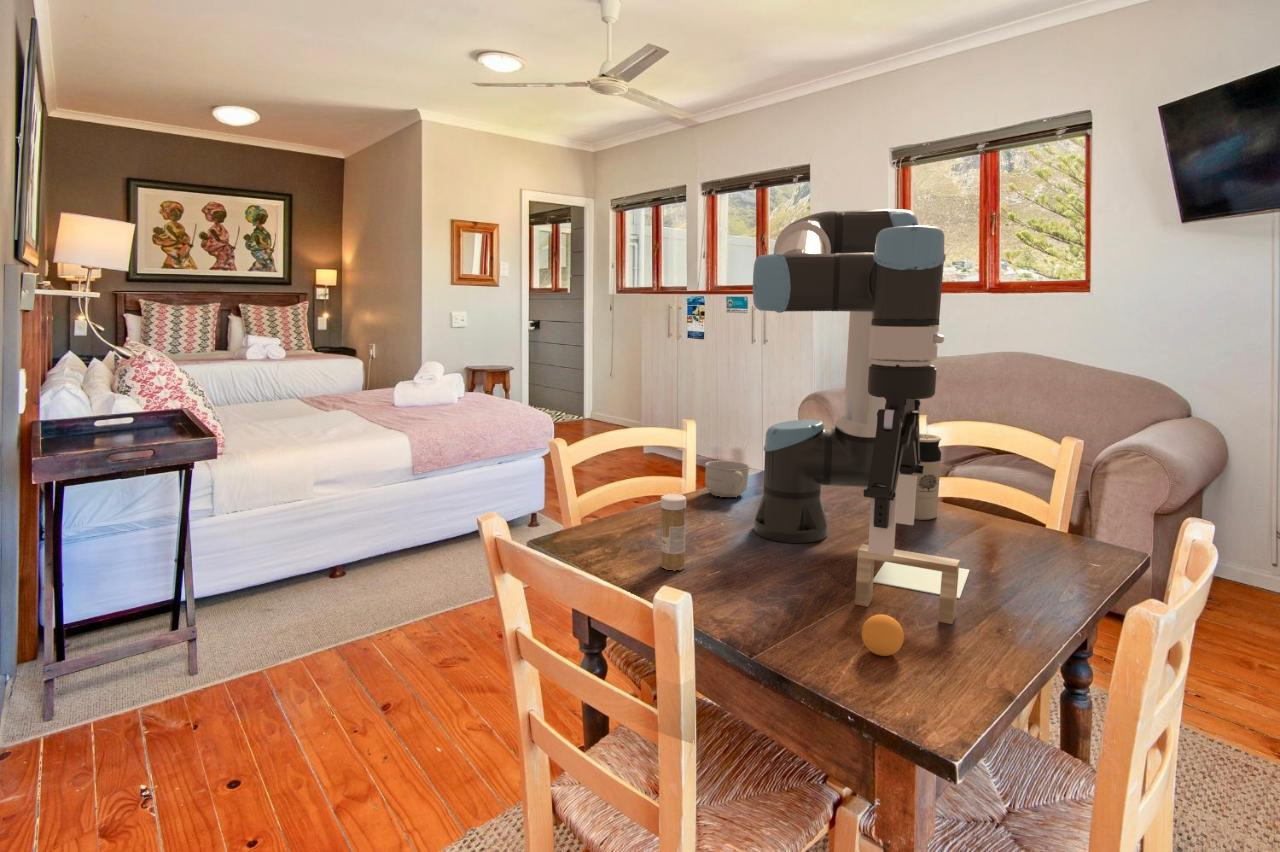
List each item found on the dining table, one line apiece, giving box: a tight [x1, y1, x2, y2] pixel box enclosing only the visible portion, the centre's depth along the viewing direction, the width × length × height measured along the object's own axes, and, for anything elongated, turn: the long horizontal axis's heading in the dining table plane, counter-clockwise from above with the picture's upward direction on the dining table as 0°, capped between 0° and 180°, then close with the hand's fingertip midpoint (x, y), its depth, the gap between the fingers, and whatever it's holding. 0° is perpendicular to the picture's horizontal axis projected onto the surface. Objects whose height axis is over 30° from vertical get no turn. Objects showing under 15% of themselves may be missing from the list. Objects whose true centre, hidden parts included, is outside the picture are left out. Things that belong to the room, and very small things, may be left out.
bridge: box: [854, 543, 960, 625], centre depth 113 cm, size 3×14×9 cm, turn 59°
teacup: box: [704, 460, 750, 498], centre depth 177 cm, size 14×11×8 cm
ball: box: [861, 613, 905, 657], centre depth 100 cm, size 6×6×6 cm
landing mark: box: [873, 562, 971, 600], centre depth 127 cm, size 14×14×1 cm
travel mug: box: [913, 433, 942, 521], centre depth 161 cm, size 8×8×18 cm
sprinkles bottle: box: [660, 493, 687, 572], centre depth 131 cm, size 5×5×14 cm
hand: (892, 537), depth 88 cm, fingers open, 13 cm apart
